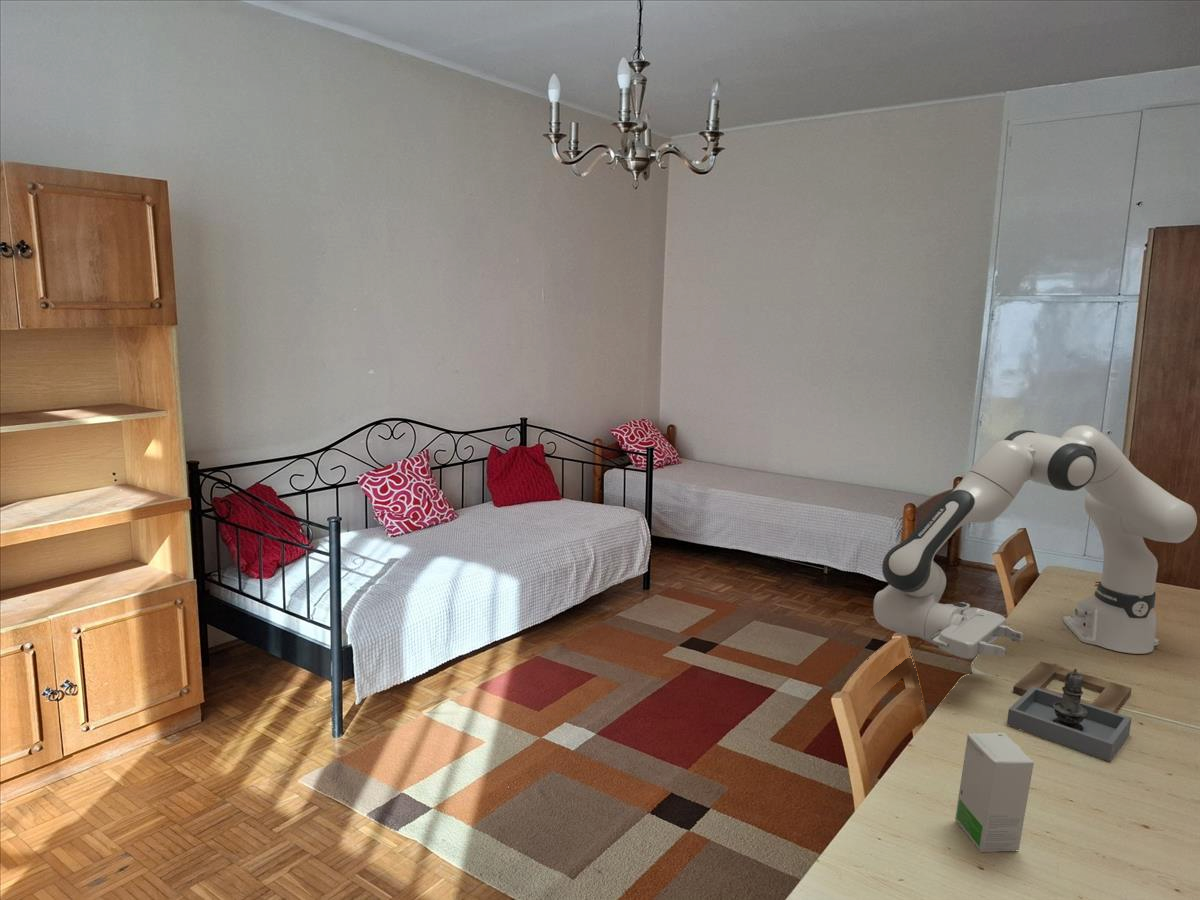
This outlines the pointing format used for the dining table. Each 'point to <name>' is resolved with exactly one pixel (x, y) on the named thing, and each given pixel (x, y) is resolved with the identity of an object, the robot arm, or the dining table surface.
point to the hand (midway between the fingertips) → (1013, 644)
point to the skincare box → (993, 791)
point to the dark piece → (1071, 703)
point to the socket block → (1110, 692)
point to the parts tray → (1098, 725)
